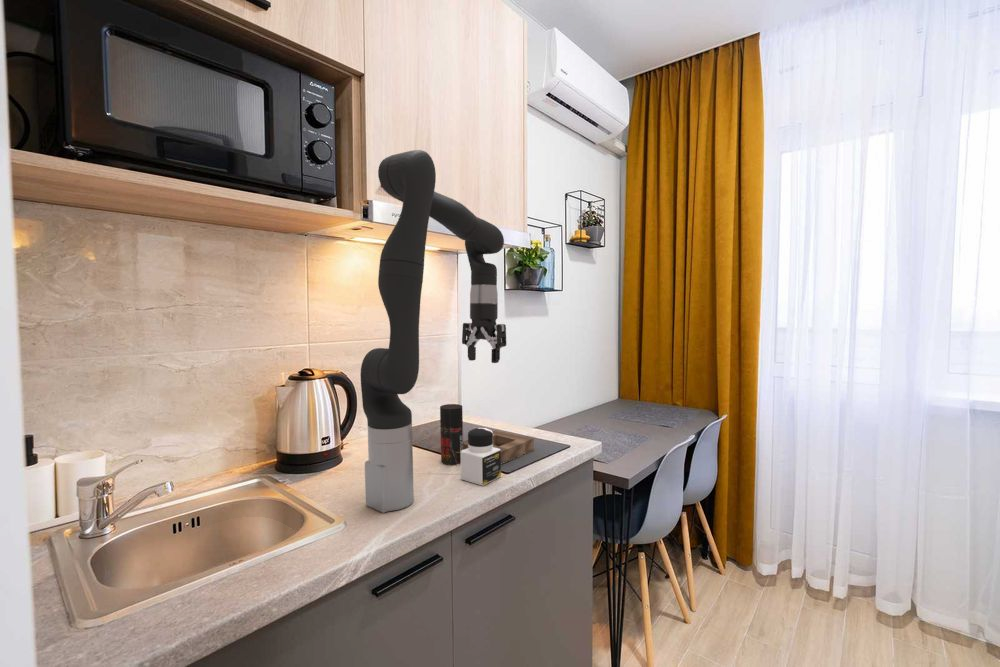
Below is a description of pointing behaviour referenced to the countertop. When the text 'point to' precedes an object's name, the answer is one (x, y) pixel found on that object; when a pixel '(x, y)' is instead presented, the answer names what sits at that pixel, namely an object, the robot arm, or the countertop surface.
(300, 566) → the countertop surface
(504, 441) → the frame
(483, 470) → the medicine bottle
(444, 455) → the deodorant
